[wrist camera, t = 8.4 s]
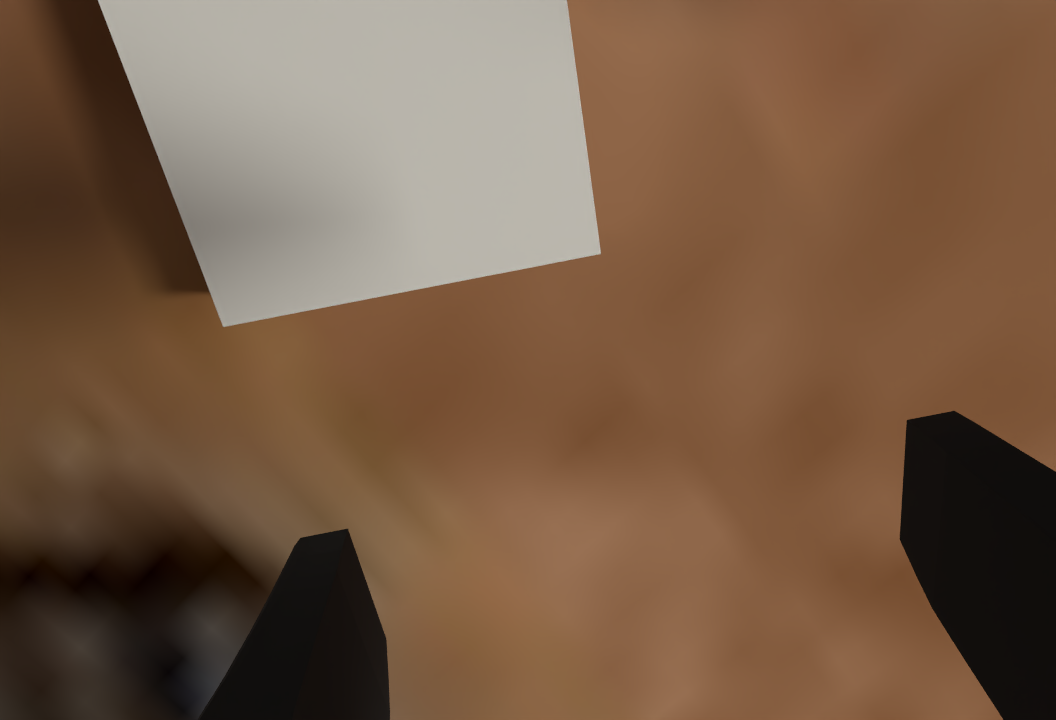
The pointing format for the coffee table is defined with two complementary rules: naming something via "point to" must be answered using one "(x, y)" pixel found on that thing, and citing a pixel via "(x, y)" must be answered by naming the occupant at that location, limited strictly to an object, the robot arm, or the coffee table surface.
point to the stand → (361, 142)
